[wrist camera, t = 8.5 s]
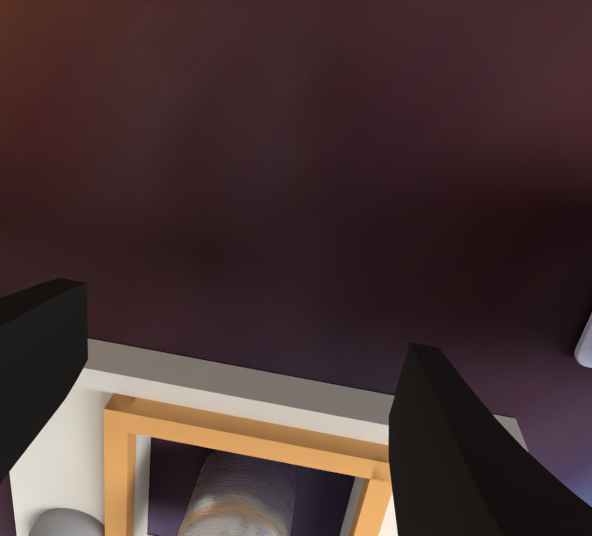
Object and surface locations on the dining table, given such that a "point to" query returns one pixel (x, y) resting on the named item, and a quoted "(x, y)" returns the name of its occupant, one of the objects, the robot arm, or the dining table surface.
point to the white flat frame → (195, 439)
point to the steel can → (241, 497)
